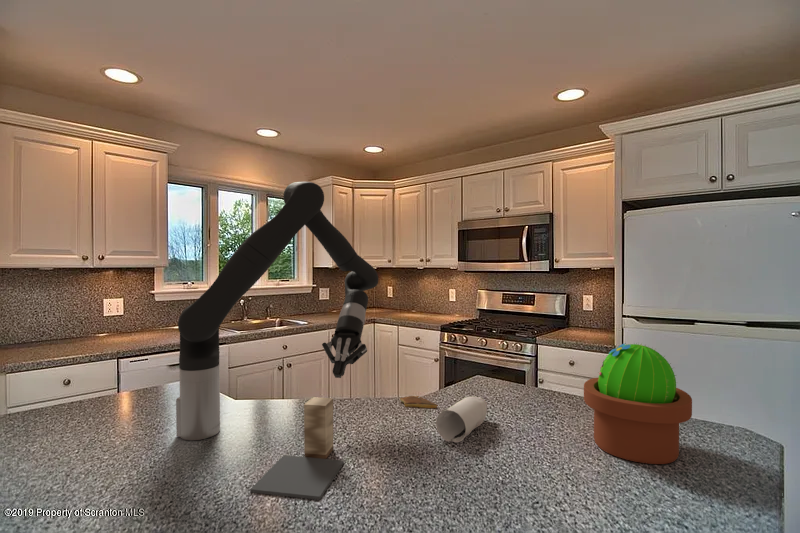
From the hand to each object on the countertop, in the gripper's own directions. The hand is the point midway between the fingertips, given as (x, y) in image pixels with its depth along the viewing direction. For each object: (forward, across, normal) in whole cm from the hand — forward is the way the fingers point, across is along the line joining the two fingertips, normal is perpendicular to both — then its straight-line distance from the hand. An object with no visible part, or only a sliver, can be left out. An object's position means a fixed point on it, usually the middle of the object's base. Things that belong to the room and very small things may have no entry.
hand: (337, 376), depth 108 cm
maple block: (+19, 0, +1) cm, 19 cm away
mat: (+27, 0, -7) cm, 28 cm away
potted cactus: (+8, +72, +12) cm, 74 cm away
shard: (-6, +18, +27) cm, 33 cm away
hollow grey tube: (+6, +32, +14) cm, 36 cm away
